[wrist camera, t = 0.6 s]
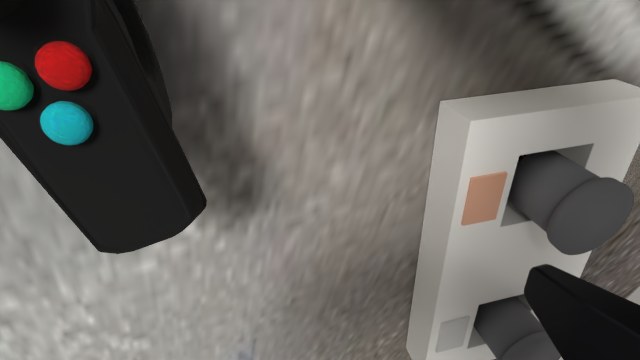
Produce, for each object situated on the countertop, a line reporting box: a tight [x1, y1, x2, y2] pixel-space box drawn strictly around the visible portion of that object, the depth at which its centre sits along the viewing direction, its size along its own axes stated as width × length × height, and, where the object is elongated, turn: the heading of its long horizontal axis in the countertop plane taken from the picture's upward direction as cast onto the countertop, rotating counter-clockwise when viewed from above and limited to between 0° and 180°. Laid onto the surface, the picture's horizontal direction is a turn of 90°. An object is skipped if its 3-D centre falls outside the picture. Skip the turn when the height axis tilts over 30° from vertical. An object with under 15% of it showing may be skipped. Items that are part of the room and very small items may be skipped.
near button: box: [508, 150, 634, 255], centre depth 22 cm, size 5×5×4 cm
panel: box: [406, 79, 640, 360], centre depth 28 cm, size 22×12×3 cm, turn 1°
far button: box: [473, 296, 561, 360], centre depth 29 cm, size 5×5×4 cm
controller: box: [0, 0, 207, 254], centre depth 12 cm, size 4×12×10 cm, turn 14°
